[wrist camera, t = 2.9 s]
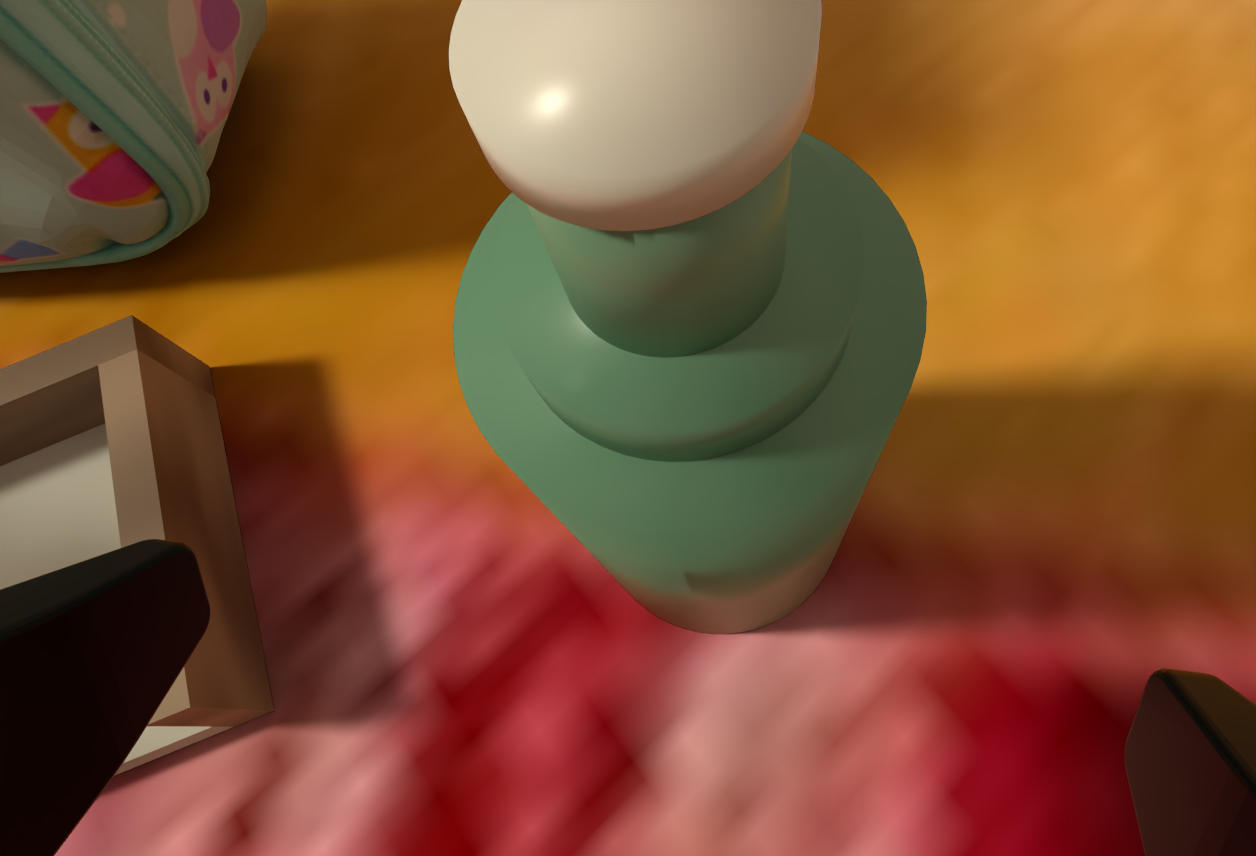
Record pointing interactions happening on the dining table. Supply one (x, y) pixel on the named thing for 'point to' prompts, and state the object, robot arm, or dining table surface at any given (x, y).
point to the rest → (133, 501)
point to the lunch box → (112, 122)
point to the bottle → (680, 294)
